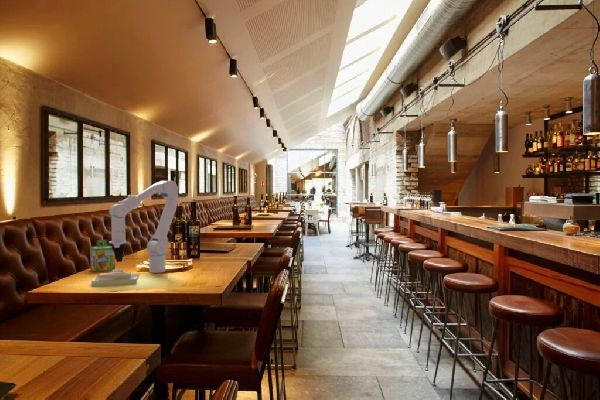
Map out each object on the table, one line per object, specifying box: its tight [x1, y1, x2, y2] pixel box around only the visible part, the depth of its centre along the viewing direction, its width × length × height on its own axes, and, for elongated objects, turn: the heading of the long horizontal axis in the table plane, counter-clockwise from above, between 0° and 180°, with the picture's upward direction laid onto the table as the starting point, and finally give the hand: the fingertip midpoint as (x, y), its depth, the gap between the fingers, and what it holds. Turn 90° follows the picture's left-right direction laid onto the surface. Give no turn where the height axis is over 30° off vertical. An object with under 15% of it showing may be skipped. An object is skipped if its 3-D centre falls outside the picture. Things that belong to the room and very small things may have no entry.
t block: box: [98, 268, 132, 280], centre depth 199 cm, size 12×12×4 cm
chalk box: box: [89, 239, 116, 272], centre depth 229 cm, size 9×9×15 cm
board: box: [89, 273, 141, 287], centre depth 203 cm, size 22×18×1 cm
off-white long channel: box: [91, 277, 138, 287], centre depth 195 cm, size 5×17×2 cm, turn 105°
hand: (119, 261), depth 210 cm, fingers closed
